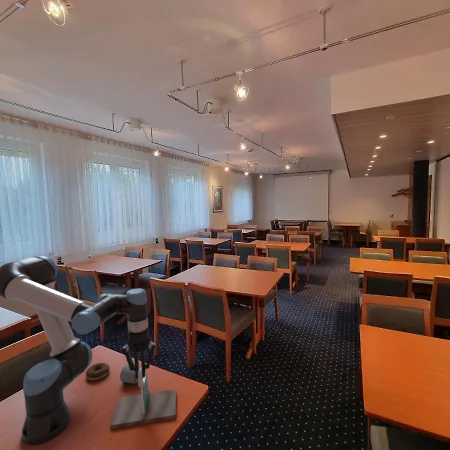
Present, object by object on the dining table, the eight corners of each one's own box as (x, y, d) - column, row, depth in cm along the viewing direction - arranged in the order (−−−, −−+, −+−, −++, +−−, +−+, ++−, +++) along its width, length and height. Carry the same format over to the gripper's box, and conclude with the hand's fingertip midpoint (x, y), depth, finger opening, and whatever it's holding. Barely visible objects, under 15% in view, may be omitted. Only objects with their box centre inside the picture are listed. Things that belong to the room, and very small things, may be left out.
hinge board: (110, 429, 96) (110, 422, 96) (118, 400, 110) (118, 395, 110) (175, 418, 101) (175, 412, 100) (176, 392, 114) (175, 386, 114)
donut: (80, 379, 124) (80, 371, 124) (98, 366, 134) (97, 359, 134) (97, 384, 120) (97, 376, 120) (114, 370, 130) (114, 363, 130)
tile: (140, 390, 99) (143, 389, 99) (144, 373, 109) (146, 372, 109) (142, 413, 100) (145, 413, 100) (146, 395, 110) (148, 394, 110)
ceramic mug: (135, 388, 117) (134, 372, 117) (119, 385, 119) (119, 369, 119) (147, 373, 128) (147, 358, 127) (133, 371, 130) (132, 356, 129)
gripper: (118, 335, 97) (122, 394, 99) (154, 331, 99) (156, 389, 101) (122, 325, 104) (126, 380, 106) (156, 322, 107) (158, 376, 109)
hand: (141, 384), depth 104 cm, fingers closed
